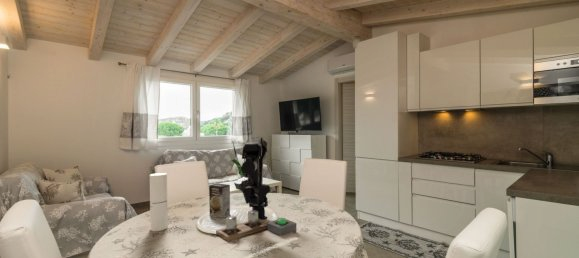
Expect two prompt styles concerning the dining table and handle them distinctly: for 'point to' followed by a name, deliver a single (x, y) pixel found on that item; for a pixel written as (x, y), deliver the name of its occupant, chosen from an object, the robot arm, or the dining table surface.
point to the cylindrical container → (158, 201)
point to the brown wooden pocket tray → (241, 230)
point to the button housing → (281, 227)
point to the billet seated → (231, 225)
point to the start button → (281, 221)
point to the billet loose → (252, 218)
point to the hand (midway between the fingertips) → (253, 205)
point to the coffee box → (219, 200)
